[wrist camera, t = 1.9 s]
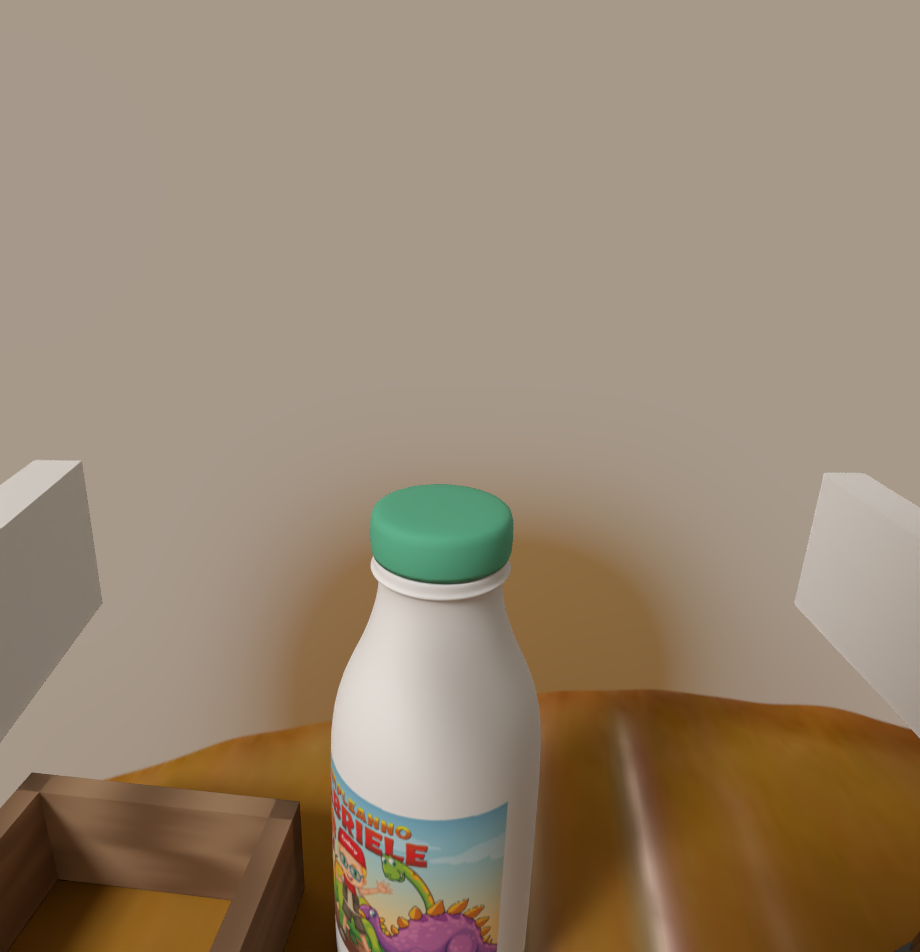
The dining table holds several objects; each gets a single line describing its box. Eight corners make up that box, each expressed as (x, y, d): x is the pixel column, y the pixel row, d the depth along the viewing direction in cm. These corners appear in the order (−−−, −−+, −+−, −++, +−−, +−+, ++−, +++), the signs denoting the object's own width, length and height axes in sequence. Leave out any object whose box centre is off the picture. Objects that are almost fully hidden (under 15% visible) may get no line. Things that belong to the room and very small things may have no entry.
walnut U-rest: (304, 888, 34) (299, 801, 32) (199, 1194, 23) (183, 1092, 22) (50, 857, 35) (31, 772, 33) (-157, 1138, 24) (-200, 1036, 23)
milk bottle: (413, 841, 36) (418, 449, 29) (556, 926, 32) (603, 497, 25) (296, 969, 30) (266, 514, 23) (455, 1092, 26) (480, 591, 19)
